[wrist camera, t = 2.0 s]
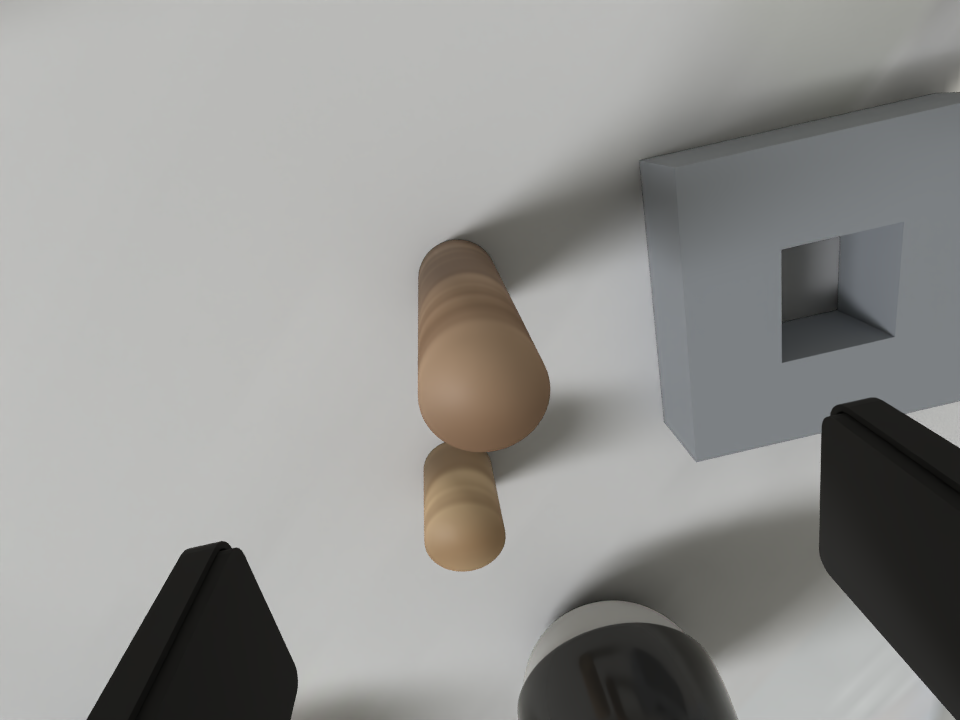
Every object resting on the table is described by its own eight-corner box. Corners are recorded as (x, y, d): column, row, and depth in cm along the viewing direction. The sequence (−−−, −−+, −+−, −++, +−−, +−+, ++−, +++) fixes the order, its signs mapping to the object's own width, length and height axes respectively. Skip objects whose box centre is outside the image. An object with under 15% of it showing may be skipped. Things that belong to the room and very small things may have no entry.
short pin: (416, 448, 27) (415, 516, 23) (484, 432, 27) (496, 497, 23) (432, 504, 29) (435, 579, 24) (497, 489, 29) (512, 561, 24)
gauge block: (639, 160, 23) (674, 167, 20) (935, 93, 23) (1018, 89, 20) (664, 422, 28) (696, 461, 25) (910, 365, 28) (974, 397, 25)
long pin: (409, 249, 24) (403, 349, 14) (487, 231, 24) (538, 318, 14) (428, 323, 25) (435, 464, 15) (502, 306, 25) (559, 435, 15)
